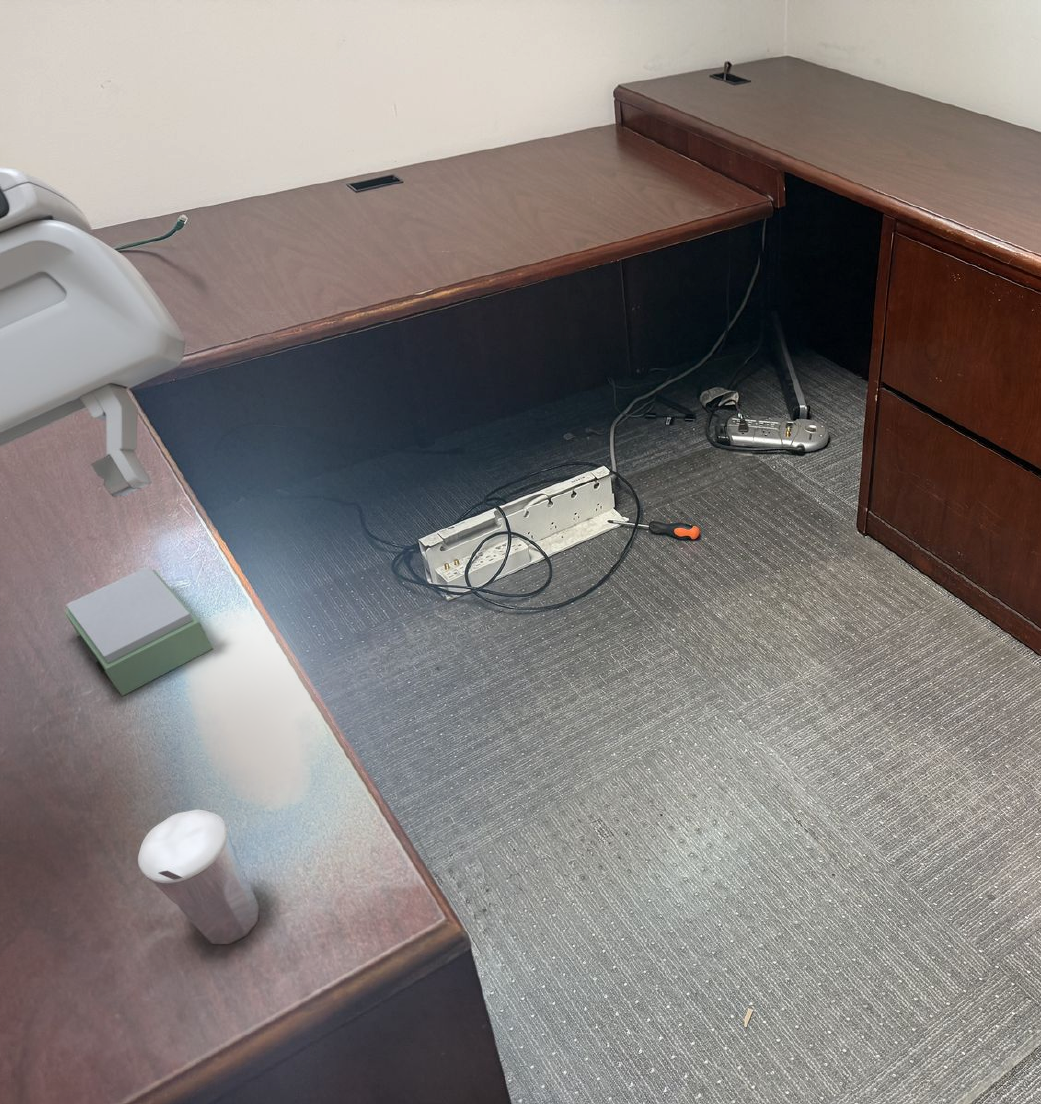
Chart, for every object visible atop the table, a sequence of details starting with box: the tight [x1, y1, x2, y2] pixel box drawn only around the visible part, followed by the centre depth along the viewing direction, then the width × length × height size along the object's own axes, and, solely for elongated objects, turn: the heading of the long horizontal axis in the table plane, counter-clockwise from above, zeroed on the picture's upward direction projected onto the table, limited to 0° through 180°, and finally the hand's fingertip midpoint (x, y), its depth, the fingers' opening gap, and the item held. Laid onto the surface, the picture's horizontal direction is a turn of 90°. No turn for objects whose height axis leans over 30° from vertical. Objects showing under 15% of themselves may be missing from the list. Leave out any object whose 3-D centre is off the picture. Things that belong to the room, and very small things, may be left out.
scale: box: [64, 565, 214, 696], centre depth 79 cm, size 7×9×4 cm
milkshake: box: [137, 809, 260, 945], centre depth 58 cm, size 4×5×10 cm
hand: (37, 535), depth 48 cm, fingers open, 8 cm apart
